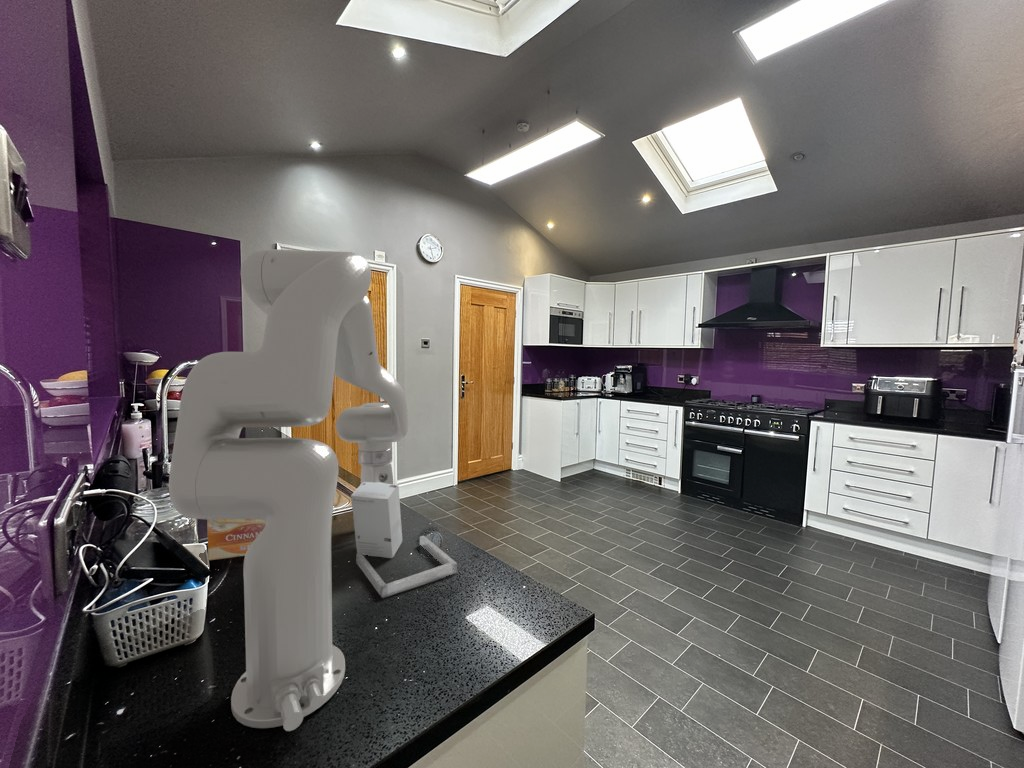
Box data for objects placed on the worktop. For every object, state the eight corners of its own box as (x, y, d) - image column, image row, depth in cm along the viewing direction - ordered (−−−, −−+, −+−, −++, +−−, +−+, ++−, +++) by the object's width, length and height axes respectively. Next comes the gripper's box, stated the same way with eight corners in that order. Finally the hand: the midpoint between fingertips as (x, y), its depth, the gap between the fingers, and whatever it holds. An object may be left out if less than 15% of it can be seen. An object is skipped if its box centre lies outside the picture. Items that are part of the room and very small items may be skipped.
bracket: (456, 572, 79) (457, 563, 79) (382, 599, 70) (382, 588, 70) (423, 543, 91) (423, 535, 91) (356, 563, 82) (356, 554, 82)
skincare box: (357, 556, 85) (346, 496, 80) (369, 536, 91) (361, 480, 86) (395, 559, 84) (387, 499, 79) (405, 539, 90) (398, 482, 85)
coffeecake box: (207, 565, 80) (204, 470, 79) (216, 549, 87) (214, 461, 85) (292, 552, 86) (290, 463, 85) (295, 538, 93) (293, 455, 91)
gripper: (405, 461, 89) (405, 536, 91) (378, 446, 103) (378, 510, 104) (372, 467, 85) (372, 545, 86) (348, 450, 98) (348, 517, 100)
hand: (376, 526), depth 95 cm, fingers open, 9 cm apart
